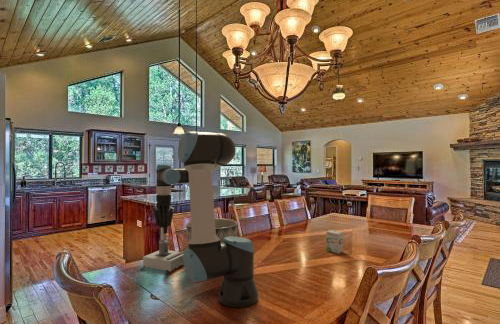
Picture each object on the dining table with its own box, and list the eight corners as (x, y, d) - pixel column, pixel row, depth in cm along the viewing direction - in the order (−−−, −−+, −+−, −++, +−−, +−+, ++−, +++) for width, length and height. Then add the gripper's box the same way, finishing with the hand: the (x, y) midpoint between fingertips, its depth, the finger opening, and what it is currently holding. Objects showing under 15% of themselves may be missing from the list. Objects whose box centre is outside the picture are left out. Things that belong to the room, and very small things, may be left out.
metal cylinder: (164, 266, 145) (164, 242, 145) (156, 265, 147) (157, 241, 147) (170, 263, 150) (170, 240, 150) (162, 262, 151) (163, 239, 151)
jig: (170, 271, 138) (170, 259, 138) (143, 266, 144) (143, 255, 144) (187, 262, 151) (187, 251, 151) (161, 258, 157) (161, 248, 157)
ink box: (325, 250, 172) (325, 231, 172) (330, 249, 176) (330, 229, 176) (338, 253, 166) (338, 233, 166) (343, 252, 169) (343, 232, 170)
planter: (187, 278, 129) (187, 230, 130) (184, 260, 154) (185, 219, 155) (243, 273, 136) (243, 226, 136) (232, 256, 161) (232, 217, 162)
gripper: (178, 194, 150) (178, 239, 149) (158, 193, 155) (158, 236, 154) (169, 195, 143) (169, 242, 143) (148, 194, 148) (148, 240, 147)
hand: (163, 239), depth 148 cm, fingers closed
